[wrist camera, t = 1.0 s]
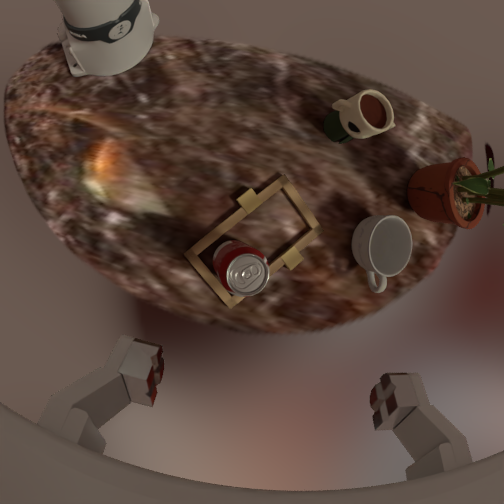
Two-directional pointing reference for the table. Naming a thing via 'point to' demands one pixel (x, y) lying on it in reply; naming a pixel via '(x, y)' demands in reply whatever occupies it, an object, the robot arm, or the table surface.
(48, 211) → the table surface
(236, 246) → the soda can
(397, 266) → the teacup
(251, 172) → the table surface
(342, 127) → the character mug
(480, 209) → the potted plant
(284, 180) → the wooden rectangular frame
